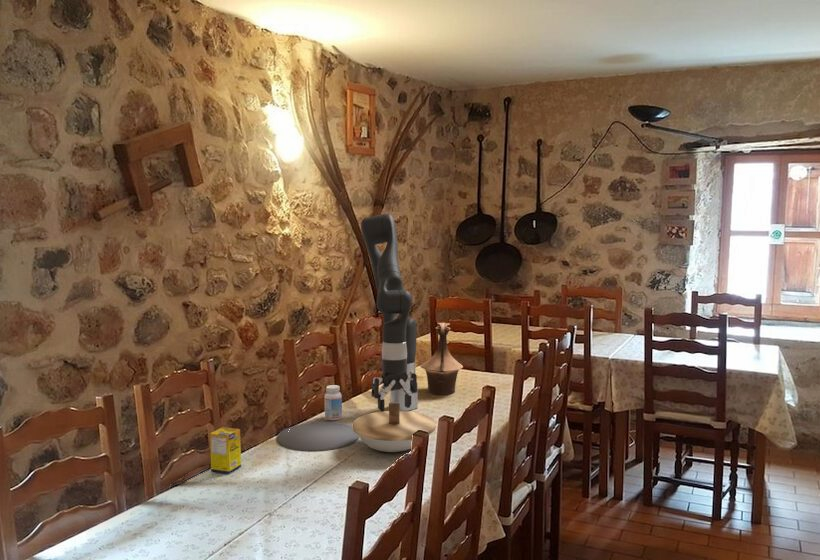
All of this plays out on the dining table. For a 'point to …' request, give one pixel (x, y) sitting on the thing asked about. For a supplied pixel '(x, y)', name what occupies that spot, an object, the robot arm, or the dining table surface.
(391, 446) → the soup bowl
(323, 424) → the disc
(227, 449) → the supplement box
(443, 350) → the pot with conical top
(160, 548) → the dining table surface
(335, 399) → the pill bottle
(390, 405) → the lid
